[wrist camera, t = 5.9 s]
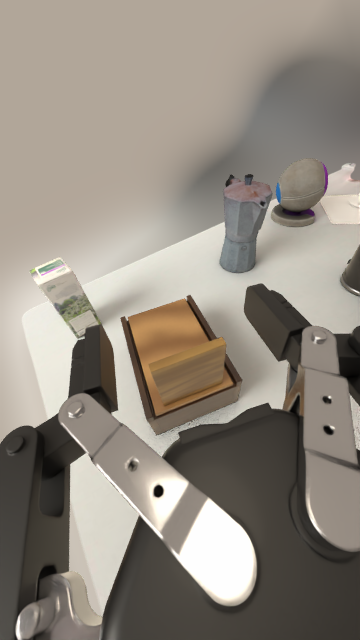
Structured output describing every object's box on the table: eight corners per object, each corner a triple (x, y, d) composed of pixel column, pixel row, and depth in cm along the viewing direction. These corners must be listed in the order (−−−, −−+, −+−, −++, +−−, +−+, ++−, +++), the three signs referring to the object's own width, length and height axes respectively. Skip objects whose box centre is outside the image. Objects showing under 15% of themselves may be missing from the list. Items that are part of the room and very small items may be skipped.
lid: (232, 385, 30) (240, 343, 22) (156, 416, 28) (138, 381, 21) (185, 301, 41) (180, 254, 34) (128, 319, 39) (110, 275, 32)
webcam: (320, 225, 65) (344, 164, 53) (274, 227, 67) (287, 169, 55) (308, 206, 73) (327, 150, 62) (267, 208, 75) (278, 154, 64)
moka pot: (235, 285, 52) (246, 191, 37) (205, 252, 61) (204, 168, 46) (270, 272, 53) (294, 177, 38) (235, 242, 63) (244, 158, 48)
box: (237, 401, 34) (242, 380, 29) (156, 435, 32) (146, 419, 27) (192, 320, 46) (190, 294, 41) (131, 341, 44) (120, 317, 38)
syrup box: (91, 310, 51) (59, 254, 40) (103, 325, 47) (71, 268, 37) (67, 324, 49) (26, 268, 38) (77, 340, 45) (36, 285, 35)
